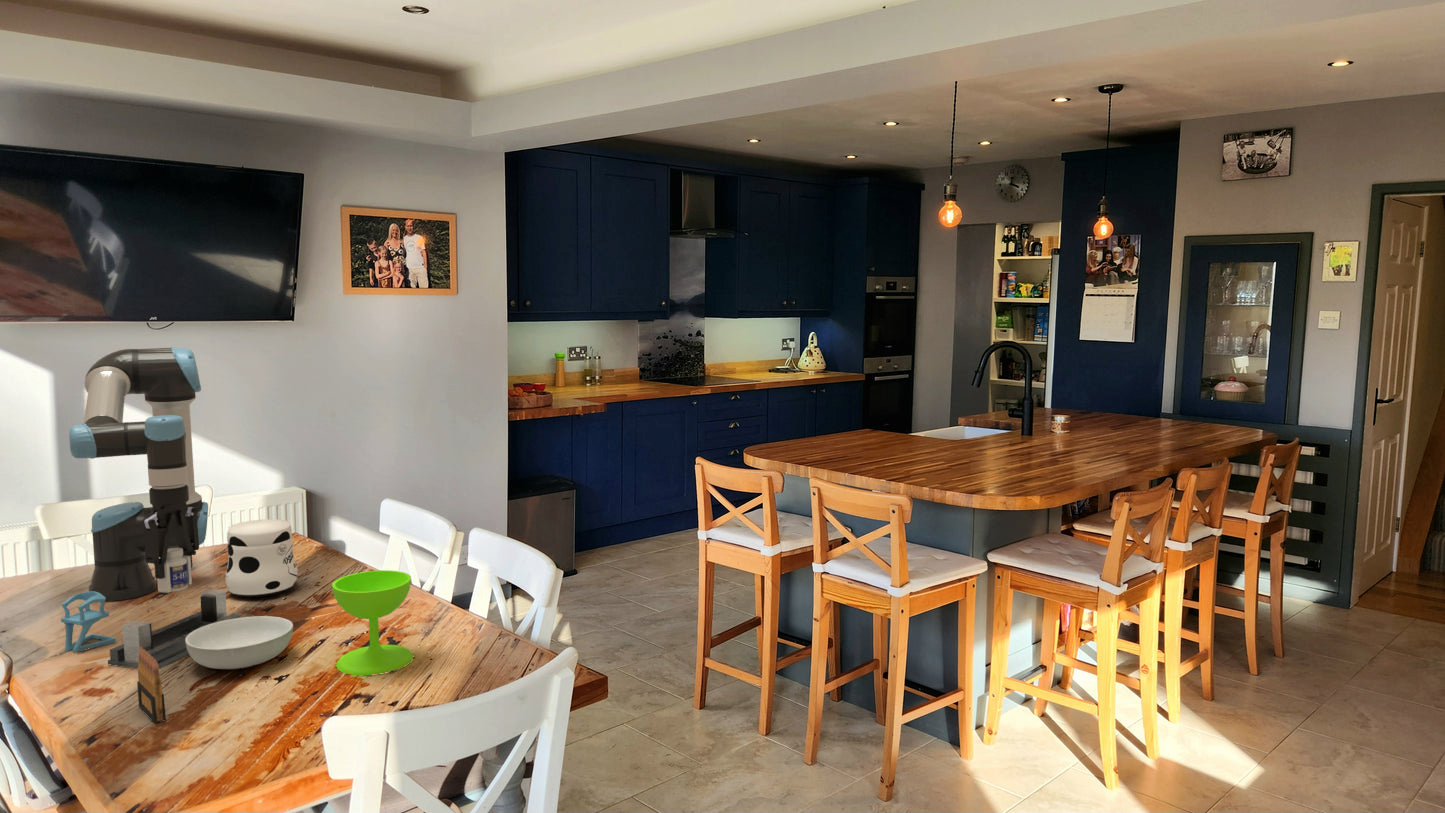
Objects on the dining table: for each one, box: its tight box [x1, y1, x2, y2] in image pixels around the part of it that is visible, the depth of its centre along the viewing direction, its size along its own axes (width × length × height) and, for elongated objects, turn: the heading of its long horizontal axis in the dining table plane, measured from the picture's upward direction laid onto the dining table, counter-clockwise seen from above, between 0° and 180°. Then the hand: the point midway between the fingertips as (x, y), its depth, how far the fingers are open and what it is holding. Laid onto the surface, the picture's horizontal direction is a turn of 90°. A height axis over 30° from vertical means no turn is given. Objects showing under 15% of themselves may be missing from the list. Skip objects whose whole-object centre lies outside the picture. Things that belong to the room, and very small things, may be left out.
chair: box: [60, 591, 117, 653], centre depth 214 cm, size 8×8×12 cm
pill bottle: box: [166, 548, 189, 593], centre depth 213 cm, size 5×5×9 cm
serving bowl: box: [185, 615, 294, 670], centre depth 206 cm, size 21×21×7 cm
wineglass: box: [331, 569, 414, 675], centre depth 206 cm, size 16×16×18 cm
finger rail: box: [107, 589, 241, 669], centre depth 215 cm, size 26×12×9 cm, turn 166°
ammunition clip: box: [136, 647, 167, 724], centre depth 180 cm, size 11×2×12 cm, turn 45°
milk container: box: [224, 518, 299, 598], centre depth 253 cm, size 17×17×18 cm
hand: (175, 587), depth 213 cm, fingers closed on pill bottle, 5 cm apart
